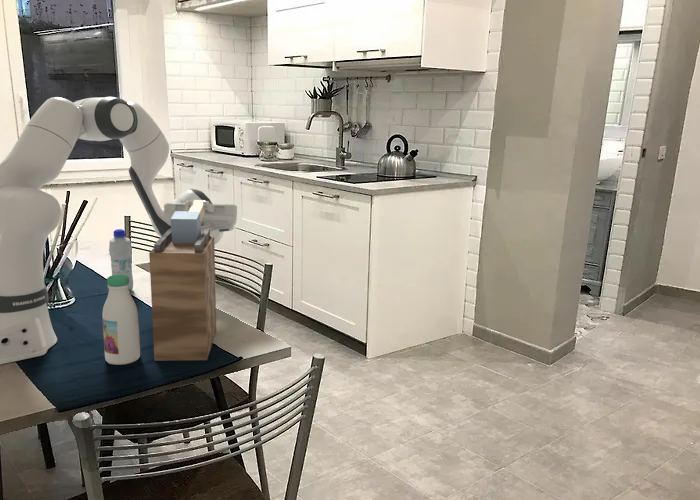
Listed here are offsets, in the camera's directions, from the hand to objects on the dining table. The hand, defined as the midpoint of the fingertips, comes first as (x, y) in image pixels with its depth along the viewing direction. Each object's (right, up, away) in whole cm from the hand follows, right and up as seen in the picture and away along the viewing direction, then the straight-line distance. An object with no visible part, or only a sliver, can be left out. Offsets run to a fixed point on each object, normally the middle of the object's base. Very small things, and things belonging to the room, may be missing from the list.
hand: (197, 203), depth 158 cm
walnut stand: (+1, -36, -13) cm, 39 cm away
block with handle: (+1, -6, -6) cm, 9 cm away
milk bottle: (-12, -38, -22) cm, 46 cm away
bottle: (-30, -26, +25) cm, 47 cm away
